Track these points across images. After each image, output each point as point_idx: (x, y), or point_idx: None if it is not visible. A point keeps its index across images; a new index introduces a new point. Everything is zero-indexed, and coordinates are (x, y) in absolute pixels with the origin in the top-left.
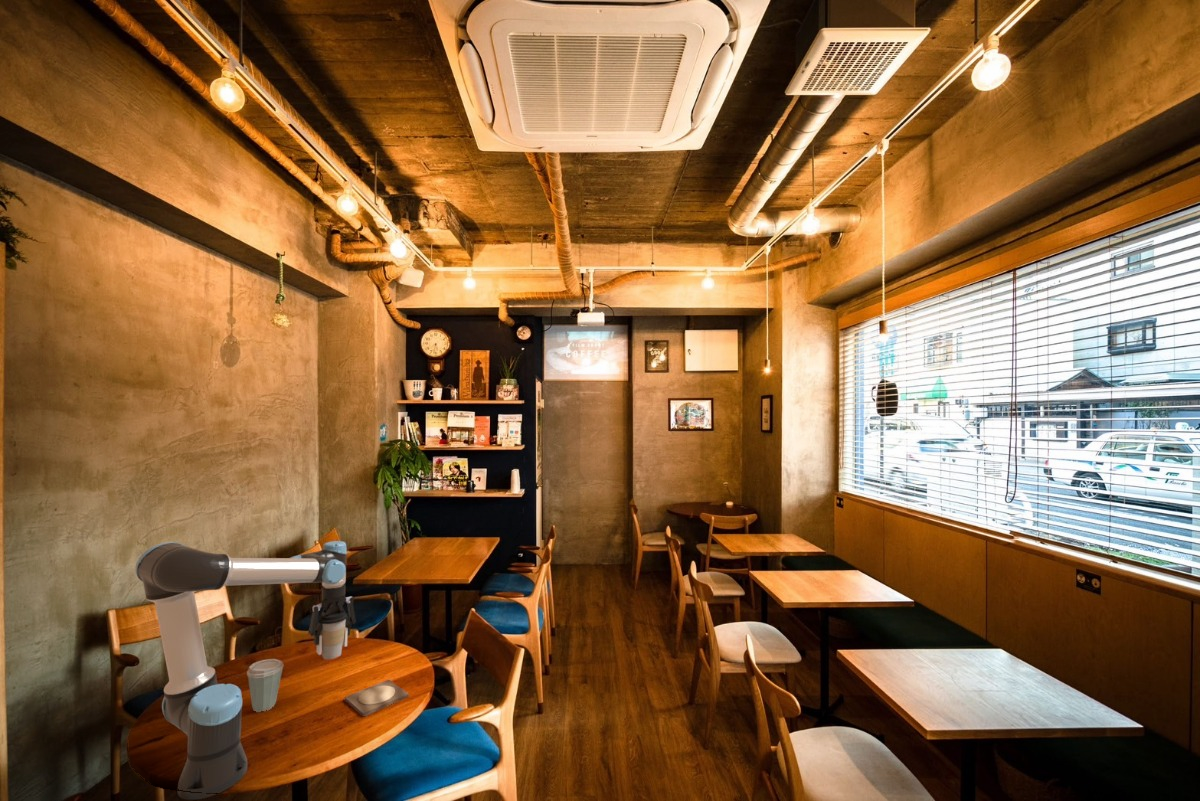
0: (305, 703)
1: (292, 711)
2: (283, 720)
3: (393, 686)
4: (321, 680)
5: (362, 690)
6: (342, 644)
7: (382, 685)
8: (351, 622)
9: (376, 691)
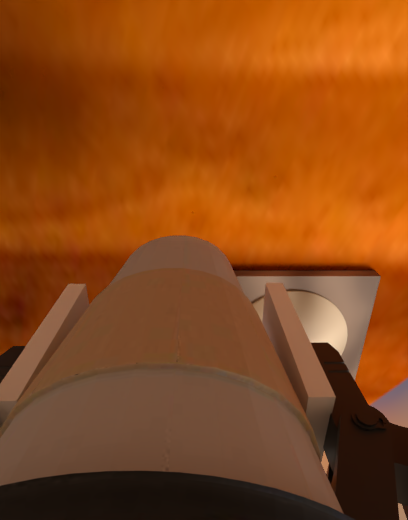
0: (99, 181)
1: (49, 203)
2: (15, 240)
3: (355, 329)
4: (213, 6)
5: (275, 278)
6: (265, 293)
7: (338, 298)
8: (400, 492)
9: None
